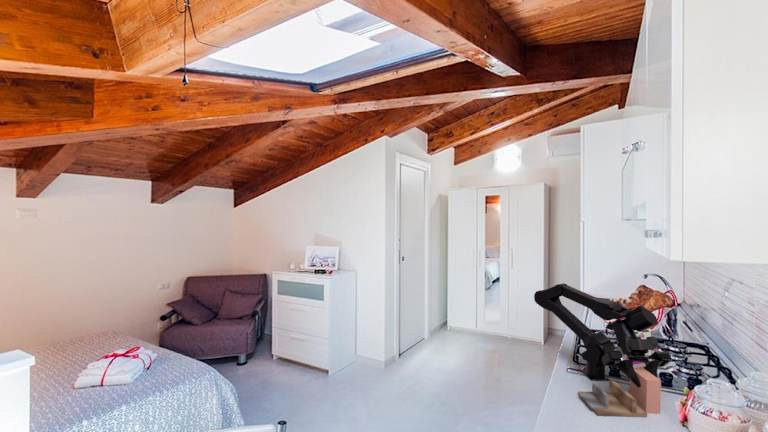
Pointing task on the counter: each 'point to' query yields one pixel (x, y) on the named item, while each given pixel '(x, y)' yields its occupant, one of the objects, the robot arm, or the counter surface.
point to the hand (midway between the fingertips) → (647, 387)
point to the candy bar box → (641, 364)
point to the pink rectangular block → (647, 391)
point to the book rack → (612, 401)
